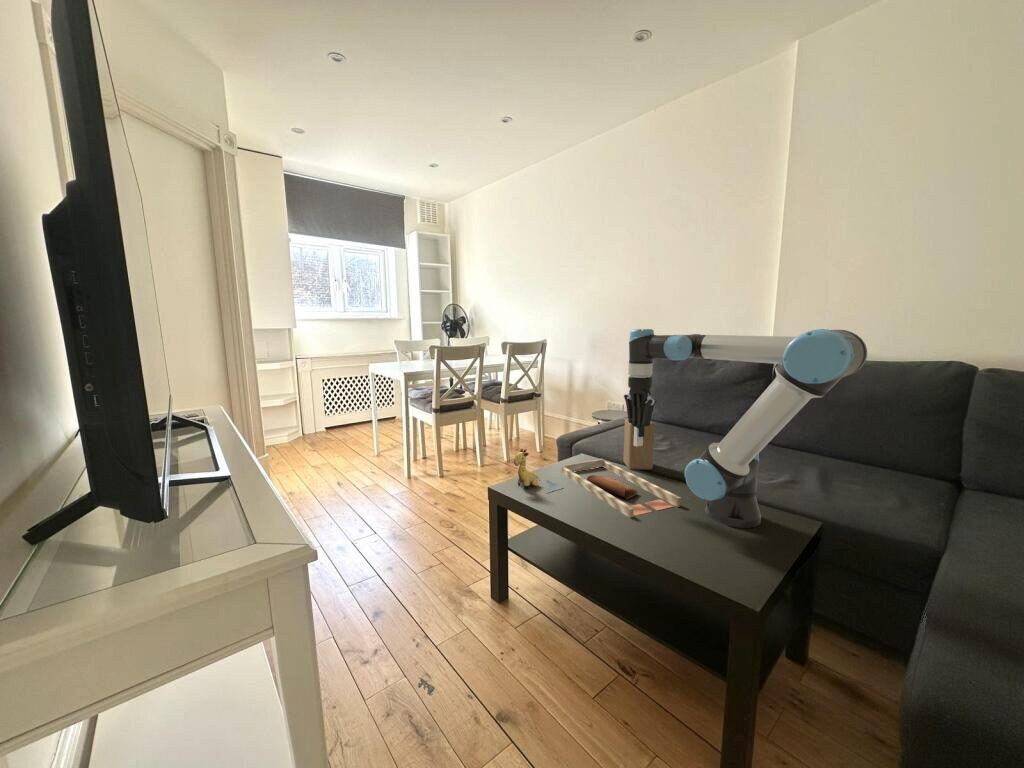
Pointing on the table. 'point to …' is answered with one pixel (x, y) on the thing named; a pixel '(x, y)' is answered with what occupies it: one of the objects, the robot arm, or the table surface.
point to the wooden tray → (640, 482)
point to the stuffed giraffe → (529, 474)
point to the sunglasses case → (612, 486)
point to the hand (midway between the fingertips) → (638, 445)
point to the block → (638, 448)
